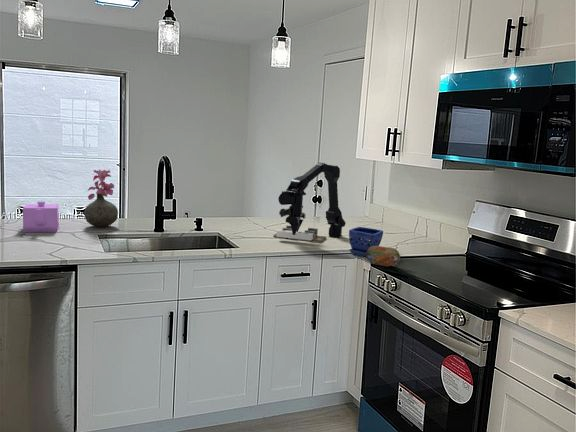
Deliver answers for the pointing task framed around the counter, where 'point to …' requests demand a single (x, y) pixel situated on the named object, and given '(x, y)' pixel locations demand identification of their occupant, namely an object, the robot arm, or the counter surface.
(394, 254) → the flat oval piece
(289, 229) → the cradle board
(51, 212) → the pink lidded box
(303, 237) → the white bar
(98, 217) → the vase
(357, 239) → the flower pot
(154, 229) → the counter surface
